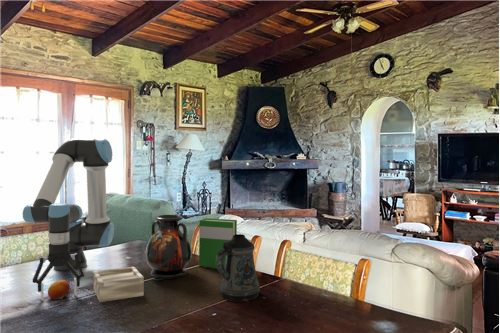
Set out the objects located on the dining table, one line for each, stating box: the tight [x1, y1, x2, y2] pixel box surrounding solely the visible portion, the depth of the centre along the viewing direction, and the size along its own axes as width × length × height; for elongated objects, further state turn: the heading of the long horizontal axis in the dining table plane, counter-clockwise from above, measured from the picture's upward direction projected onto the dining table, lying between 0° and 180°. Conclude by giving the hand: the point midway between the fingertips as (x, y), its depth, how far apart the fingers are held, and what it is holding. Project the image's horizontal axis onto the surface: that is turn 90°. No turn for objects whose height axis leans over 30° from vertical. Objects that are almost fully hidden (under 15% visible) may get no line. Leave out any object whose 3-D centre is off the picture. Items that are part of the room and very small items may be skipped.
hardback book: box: [198, 217, 238, 269], centre depth 209 cm, size 18×7×24 cm, turn 76°
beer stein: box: [216, 233, 261, 302], centre depth 167 cm, size 16×19×25 cm
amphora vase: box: [145, 214, 192, 280], centre depth 194 cm, size 22×22×28 cm
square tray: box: [92, 266, 145, 303], centre depth 169 cm, size 17×17×8 cm
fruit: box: [47, 279, 71, 300], centre depth 162 cm, size 8×8×8 cm
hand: (59, 297), depth 162 cm, fingers open, 11 cm apart
